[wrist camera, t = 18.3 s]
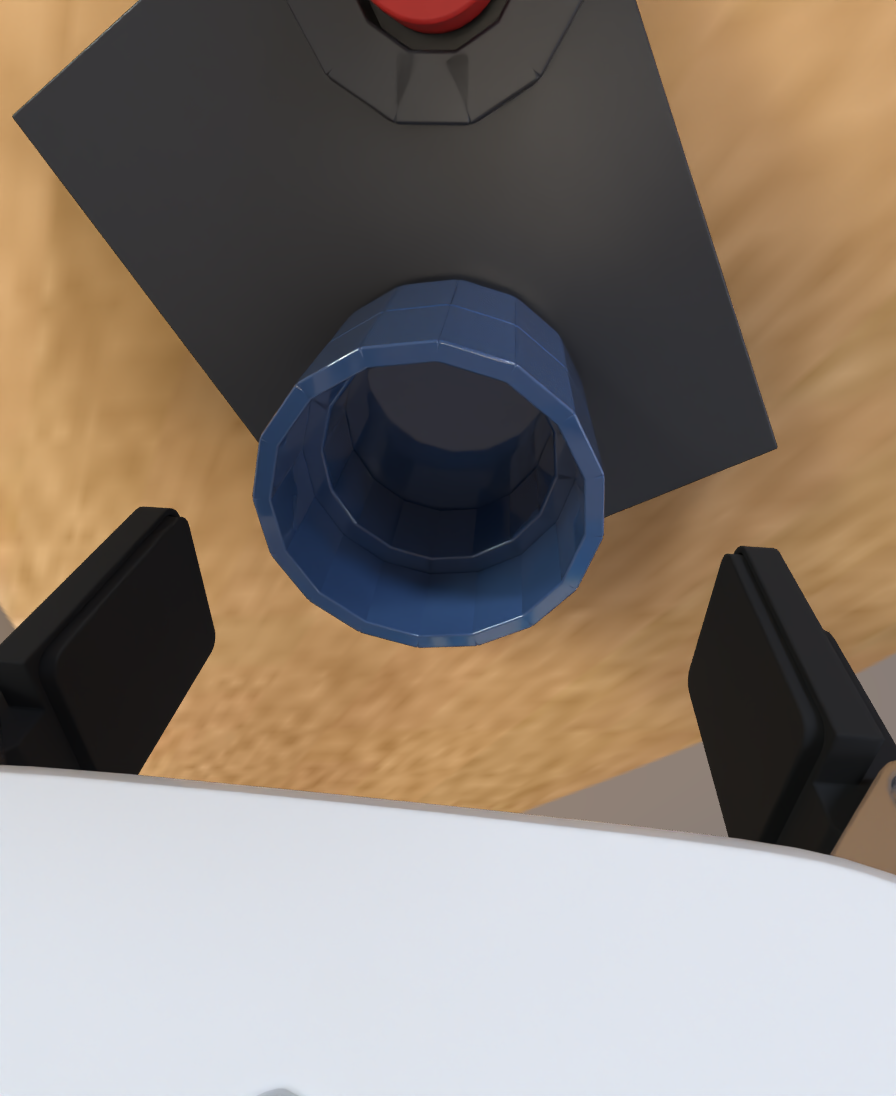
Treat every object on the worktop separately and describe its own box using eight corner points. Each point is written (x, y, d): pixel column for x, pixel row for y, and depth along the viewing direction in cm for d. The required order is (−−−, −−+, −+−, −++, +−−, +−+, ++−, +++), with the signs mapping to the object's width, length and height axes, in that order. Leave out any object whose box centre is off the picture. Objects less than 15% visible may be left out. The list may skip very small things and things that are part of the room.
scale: (757, 421, 19) (799, 475, 17) (390, 574, 24) (373, 638, 21) (514, -319, 12) (514, -454, 9) (47, 101, 16) (-53, 99, 14)
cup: (621, 464, 19) (656, 583, 14) (406, 556, 21) (375, 683, 16) (508, 217, 15) (504, 264, 11) (268, 359, 18) (181, 448, 13)
